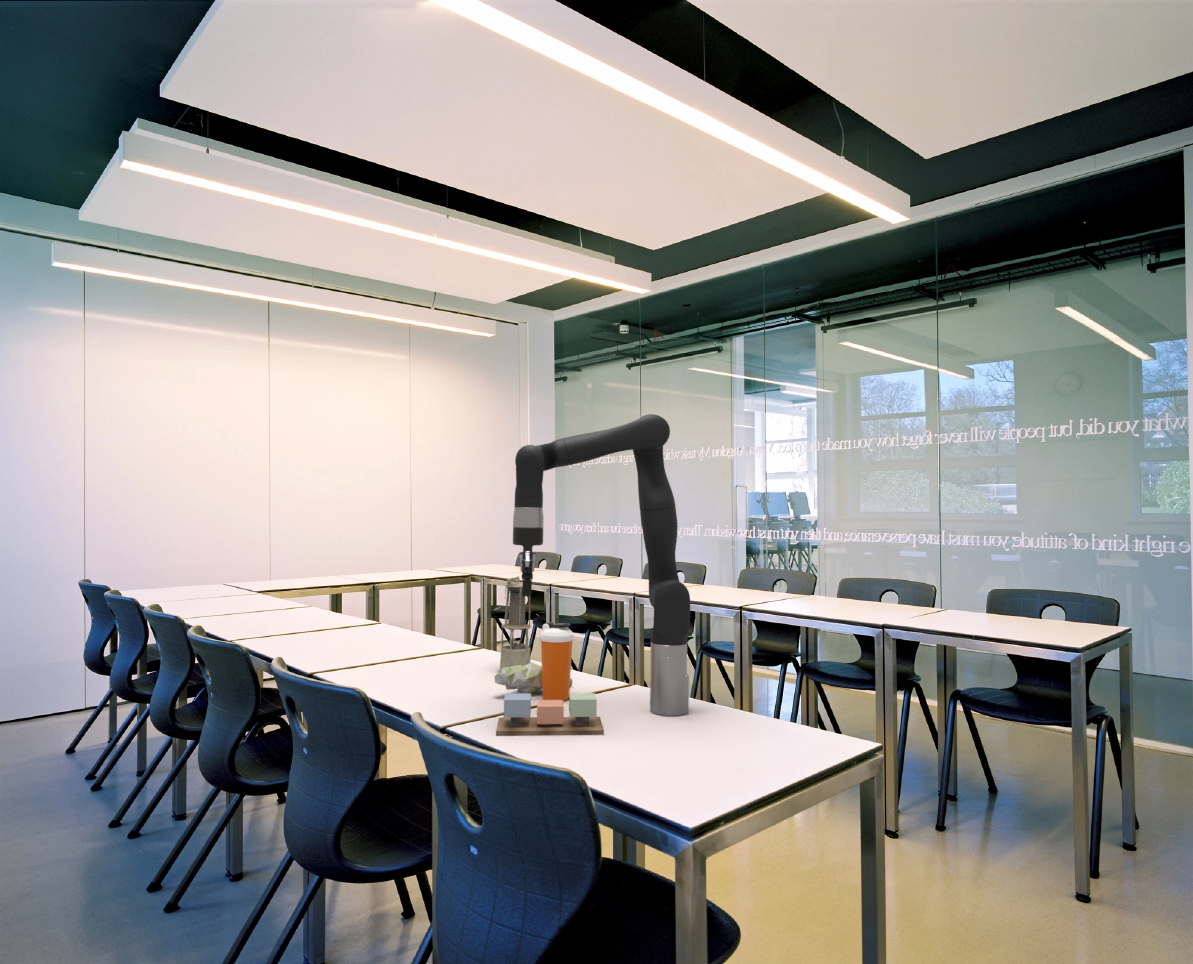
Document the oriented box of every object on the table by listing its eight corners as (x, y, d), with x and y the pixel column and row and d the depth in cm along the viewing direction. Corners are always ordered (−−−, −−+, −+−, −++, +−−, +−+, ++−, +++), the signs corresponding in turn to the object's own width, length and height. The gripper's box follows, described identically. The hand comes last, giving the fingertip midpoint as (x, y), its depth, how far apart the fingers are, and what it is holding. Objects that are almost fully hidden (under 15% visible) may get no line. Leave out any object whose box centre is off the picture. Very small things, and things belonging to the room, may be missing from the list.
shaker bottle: (567, 703, 191) (569, 626, 192) (535, 701, 192) (536, 624, 193) (575, 695, 199) (576, 621, 200) (544, 693, 201) (545, 620, 202)
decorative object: (557, 680, 215) (484, 673, 200) (574, 660, 211) (501, 650, 196) (566, 706, 208) (491, 700, 194) (584, 685, 205) (510, 677, 190)
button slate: (530, 710, 171) (531, 693, 171) (530, 717, 165) (530, 699, 165) (504, 710, 171) (505, 693, 171) (503, 717, 165) (504, 699, 165)
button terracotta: (562, 716, 172) (562, 699, 172) (563, 723, 166) (563, 706, 166) (537, 716, 171) (537, 700, 171) (536, 724, 165) (537, 706, 165)
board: (599, 721, 175) (599, 708, 175) (603, 734, 164) (604, 721, 164) (498, 721, 173) (499, 708, 173) (496, 735, 162) (496, 721, 162)
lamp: (538, 673, 226) (540, 576, 228) (504, 679, 217) (506, 578, 219) (517, 668, 234) (519, 574, 235) (484, 674, 225) (486, 576, 226)
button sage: (594, 709, 172) (594, 693, 172) (596, 716, 166) (596, 699, 166) (569, 710, 172) (569, 693, 172) (570, 716, 166) (570, 699, 166)
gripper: (543, 526, 175) (542, 599, 174) (543, 525, 188) (542, 593, 188) (512, 526, 175) (510, 598, 174) (513, 525, 188) (512, 593, 187)
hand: (526, 595), depth 181 cm, fingers closed
